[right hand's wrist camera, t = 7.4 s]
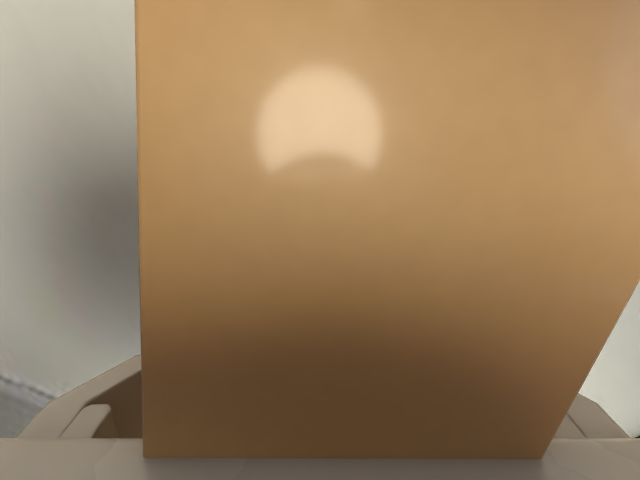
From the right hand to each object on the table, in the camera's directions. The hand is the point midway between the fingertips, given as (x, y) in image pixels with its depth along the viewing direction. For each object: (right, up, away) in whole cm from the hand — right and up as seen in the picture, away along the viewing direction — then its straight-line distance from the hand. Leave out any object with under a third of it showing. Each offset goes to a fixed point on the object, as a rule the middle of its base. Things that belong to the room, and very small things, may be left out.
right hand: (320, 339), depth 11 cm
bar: (+1, +9, +1) cm, 9 cm away
